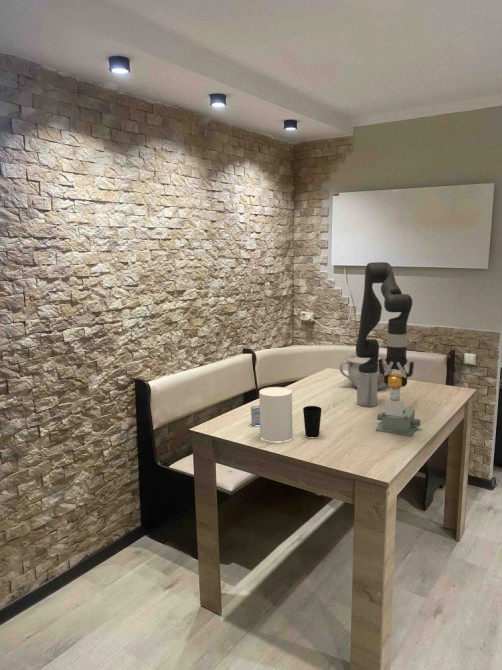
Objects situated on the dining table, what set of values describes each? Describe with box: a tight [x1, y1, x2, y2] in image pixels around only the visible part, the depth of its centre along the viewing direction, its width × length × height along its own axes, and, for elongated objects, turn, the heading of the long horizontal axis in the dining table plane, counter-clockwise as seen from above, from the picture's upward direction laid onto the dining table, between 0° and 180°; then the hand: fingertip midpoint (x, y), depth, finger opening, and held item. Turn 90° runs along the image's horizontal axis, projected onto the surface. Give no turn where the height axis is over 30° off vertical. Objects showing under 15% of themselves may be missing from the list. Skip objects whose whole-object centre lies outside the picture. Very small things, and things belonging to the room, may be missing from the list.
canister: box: [258, 386, 293, 441], centre depth 207 cm, size 14×14×20 cm
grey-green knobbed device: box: [375, 406, 422, 437], centre depth 217 cm, size 18×18×8 cm
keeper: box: [384, 400, 404, 419], centre depth 208 cm, size 7×1×8 cm, turn 61°
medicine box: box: [250, 404, 260, 425], centre depth 224 cm, size 8×4×9 cm, turn 105°
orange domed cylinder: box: [387, 373, 404, 402], centre depth 200 cm, size 6×6×10 cm
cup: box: [302, 405, 322, 438], centre depth 209 cm, size 8×8×12 cm
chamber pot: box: [338, 353, 393, 391], centre depth 280 cm, size 28×28×21 cm
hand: (395, 385), depth 200 cm, fingers closed on orange domed cylinder, 6 cm apart
